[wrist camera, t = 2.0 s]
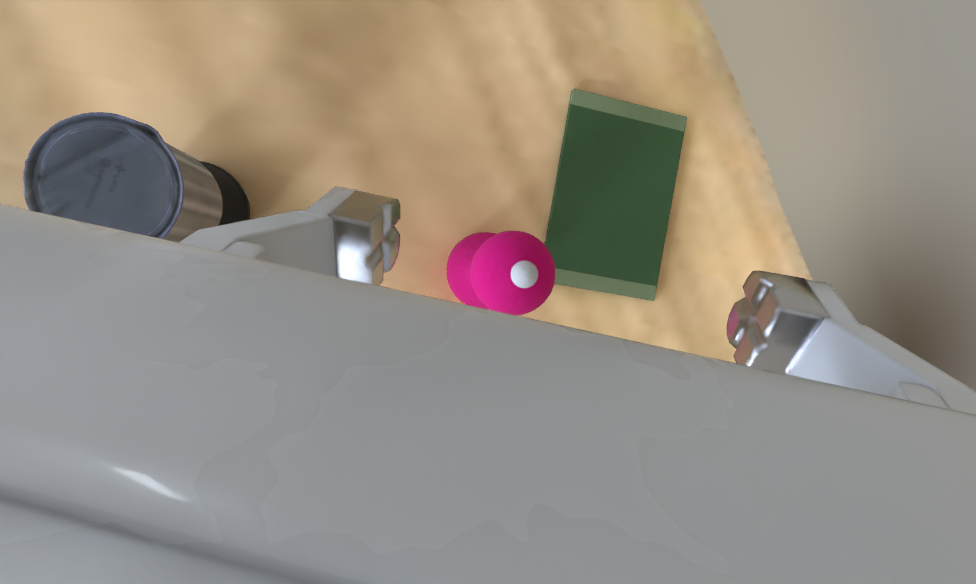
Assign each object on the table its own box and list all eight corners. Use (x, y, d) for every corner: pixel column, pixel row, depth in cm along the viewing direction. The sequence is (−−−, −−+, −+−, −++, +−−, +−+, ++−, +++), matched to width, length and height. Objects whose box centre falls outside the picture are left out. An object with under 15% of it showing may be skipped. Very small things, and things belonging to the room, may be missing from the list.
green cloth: (571, 90, 51) (573, 88, 51) (684, 118, 54) (687, 116, 53) (538, 280, 52) (540, 280, 51) (651, 300, 54) (654, 300, 53)
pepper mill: (473, 319, 51) (520, 355, 31) (428, 265, 50) (446, 267, 30) (526, 274, 51) (604, 281, 32) (482, 220, 50) (535, 192, 31)
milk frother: (164, 143, 45) (49, 86, 30) (334, 208, 48) (304, 184, 33) (108, 290, 45) (-33, 304, 30) (282, 346, 48) (230, 383, 33)
